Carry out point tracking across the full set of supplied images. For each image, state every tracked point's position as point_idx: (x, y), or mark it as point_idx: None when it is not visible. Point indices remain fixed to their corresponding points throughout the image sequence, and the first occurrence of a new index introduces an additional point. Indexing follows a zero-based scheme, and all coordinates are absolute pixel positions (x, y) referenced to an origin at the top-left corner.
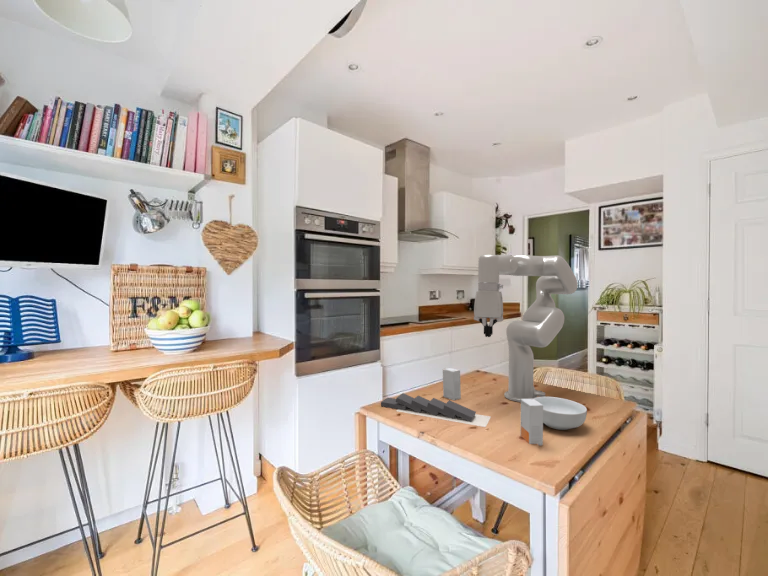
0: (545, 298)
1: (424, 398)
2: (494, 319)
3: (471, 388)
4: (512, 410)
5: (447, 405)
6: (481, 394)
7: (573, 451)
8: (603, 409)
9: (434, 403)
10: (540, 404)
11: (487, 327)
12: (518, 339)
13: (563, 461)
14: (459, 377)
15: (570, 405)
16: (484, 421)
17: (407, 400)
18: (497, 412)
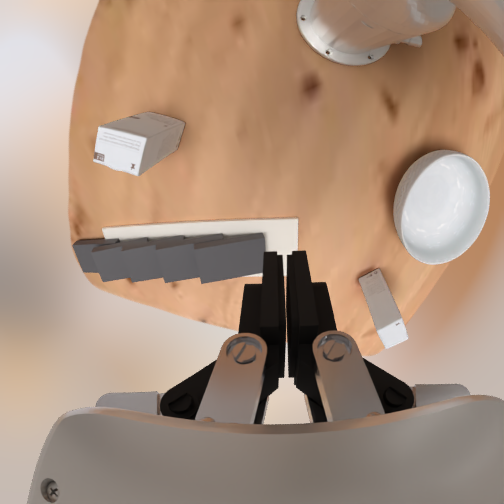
0: None
1: (137, 249)
2: (379, 404)
3: (179, 8)
4: (340, 138)
5: (206, 277)
6: (225, 41)
7: (422, 286)
8: (500, 72)
9: (174, 272)
10: (405, 339)
11: (284, 365)
12: (460, 7)
13: (401, 316)
14: (157, 138)
15: (471, 166)
16: (289, 251)
17: (118, 270)
18: (306, 171)
